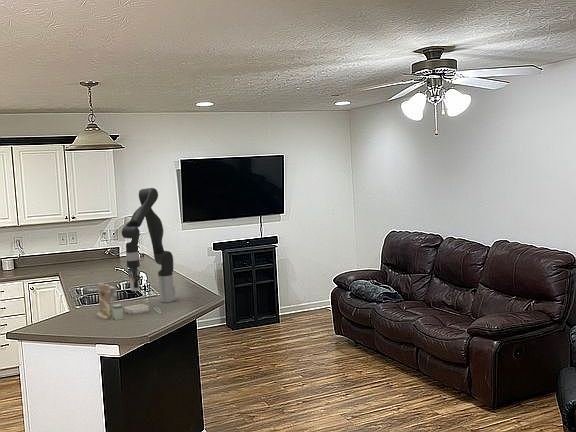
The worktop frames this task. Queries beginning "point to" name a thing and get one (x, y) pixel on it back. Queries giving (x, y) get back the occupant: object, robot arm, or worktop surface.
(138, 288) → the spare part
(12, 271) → the worktop surface
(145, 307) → the tray
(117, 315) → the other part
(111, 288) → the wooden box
